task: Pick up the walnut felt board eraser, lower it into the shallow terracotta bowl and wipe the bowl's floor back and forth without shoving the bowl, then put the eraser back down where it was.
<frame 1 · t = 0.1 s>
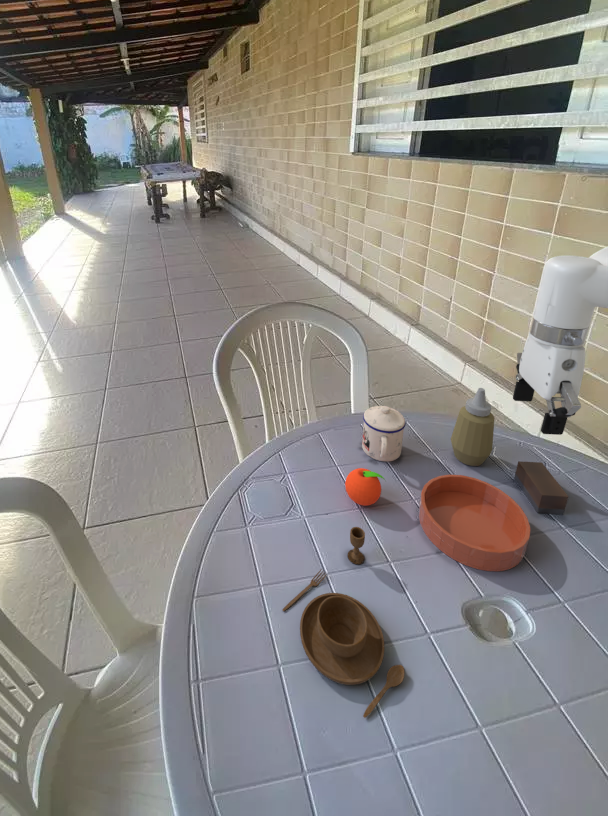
hand: (535, 415, 76), 20 cm above the table, tool pointing down, fingers open, 9 cm apart
place setting: (356, 622, 65), on the table
squeeze bottle: (468, 458, 95), on the table
bowl: (469, 527, 79), on the table
teacup with lid: (381, 454, 98), on the table
clementine: (364, 500, 86), on the table
eraser: (537, 495, 84), on the table
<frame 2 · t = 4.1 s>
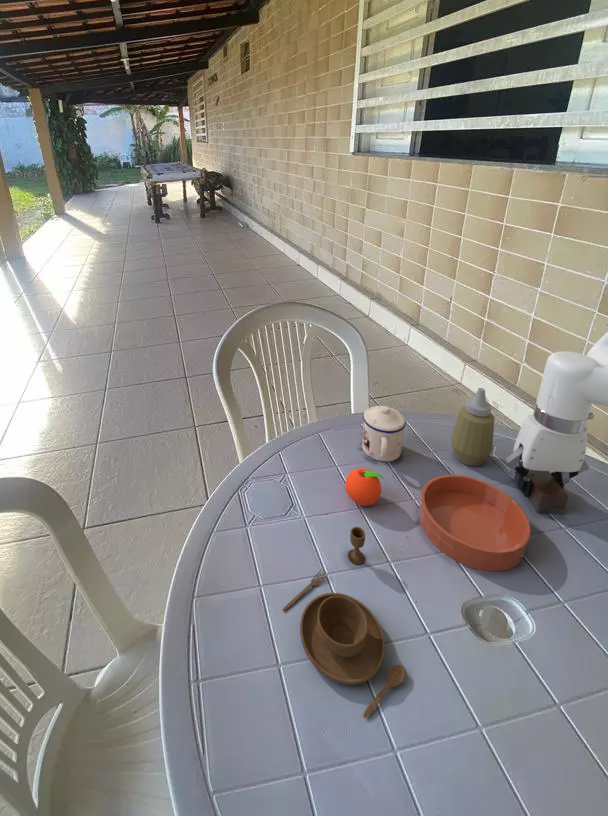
hand: (538, 492, 84), 1 cm above the table, tool pointing down, fingers closed on eraser, 4 cm apart
eraser: (537, 495, 84), on the table, touching gripper
everything else where it was.
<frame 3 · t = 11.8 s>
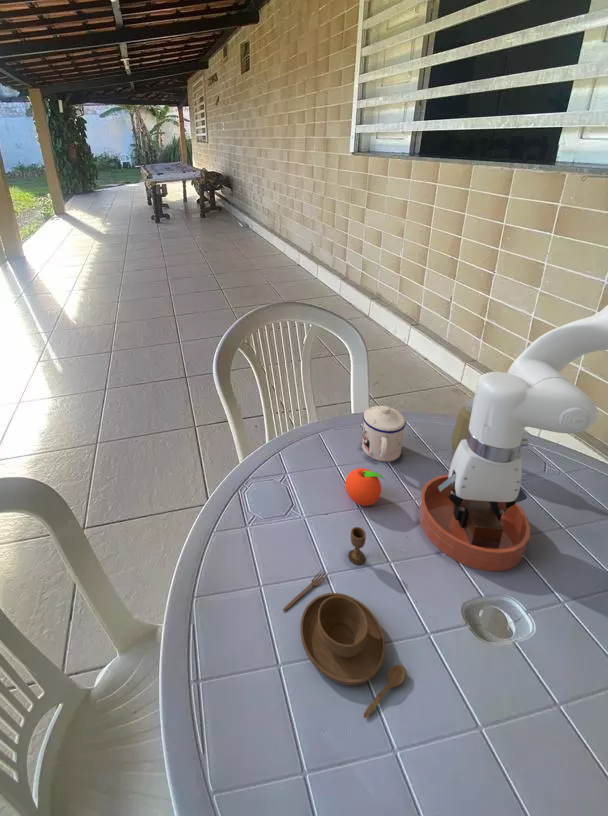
hand: (475, 521, 78), 2 cm above the table, tool pointing down, fingers closed on eraser, 4 cm apart
eraser: (474, 525, 78), point 1 cm above the table, touching gripper
everything else where it was.
when the fingers open (1 cm above the table, at t = 19.7 s): eraser stays where it is, on the table.
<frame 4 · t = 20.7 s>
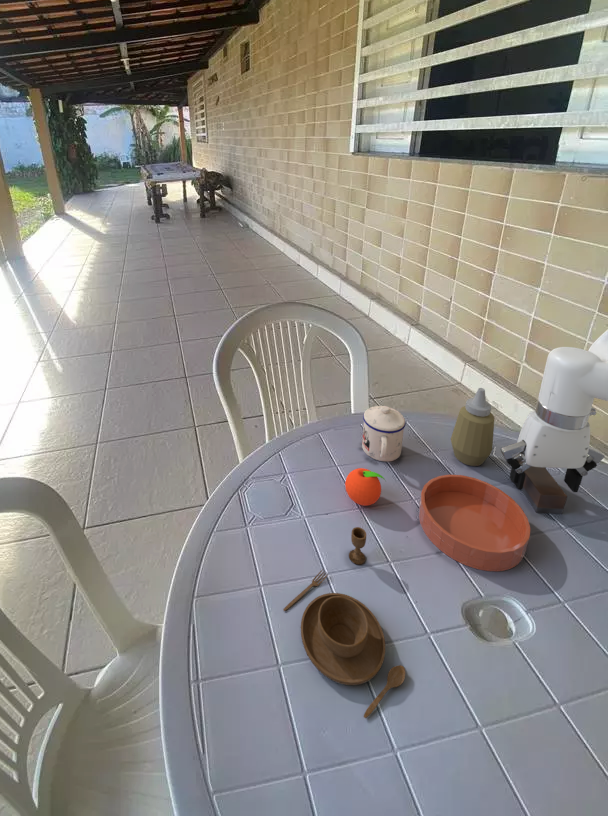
hand: (543, 485, 83), 3 cm above the table, tool pointing down, fingers open, 9 cm apart
eraser: (536, 495, 85), on the table
everything else where it was.
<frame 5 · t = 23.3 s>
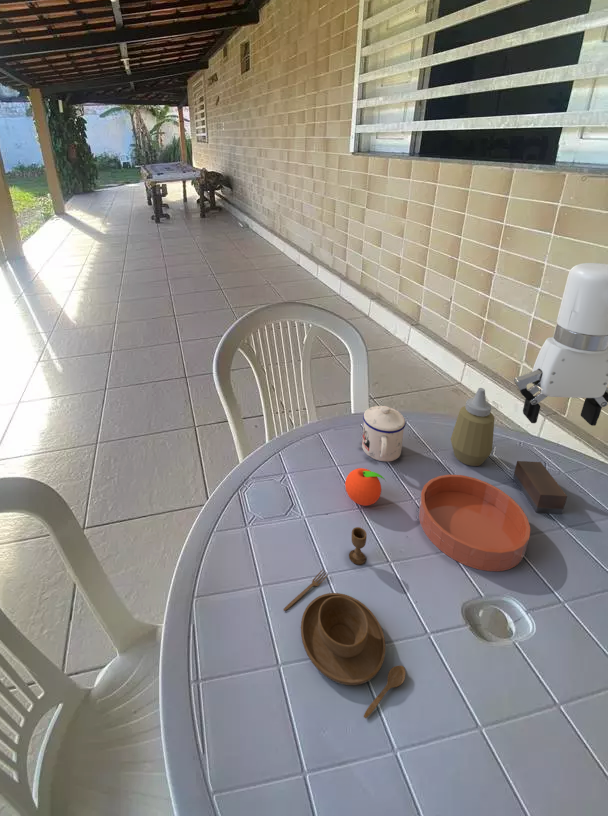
hand: (558, 419, 78), 18 cm above the table, tool pointing down, fingers open, 9 cm apart
nothing on the table moved.
at the end: eraser 0.2 cm from the target spot, on the table; the gripper is holding nothing; bowl moved 0.0 cm from its start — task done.
